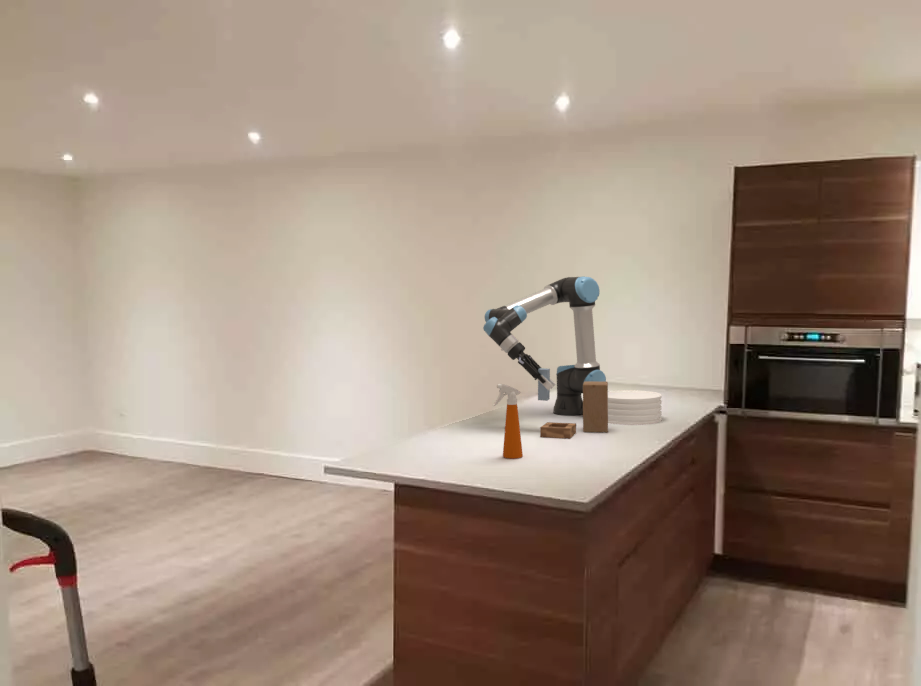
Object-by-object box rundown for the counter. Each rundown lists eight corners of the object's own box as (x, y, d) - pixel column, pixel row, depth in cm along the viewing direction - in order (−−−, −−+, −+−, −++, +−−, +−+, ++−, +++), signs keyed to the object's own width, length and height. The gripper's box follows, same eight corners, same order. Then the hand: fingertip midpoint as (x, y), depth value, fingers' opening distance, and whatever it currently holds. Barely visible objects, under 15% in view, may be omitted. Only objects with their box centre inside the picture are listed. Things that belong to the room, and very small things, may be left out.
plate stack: (674, 421, 330) (674, 396, 329) (620, 427, 320) (620, 400, 319) (637, 412, 356) (637, 388, 355) (586, 417, 346) (586, 392, 345)
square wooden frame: (547, 431, 312) (547, 422, 312) (576, 433, 308) (576, 423, 307) (540, 437, 301) (540, 427, 300) (569, 438, 297) (569, 428, 296)
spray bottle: (490, 456, 267) (488, 383, 266) (517, 453, 271) (516, 381, 269) (498, 460, 261) (496, 385, 259) (526, 457, 265) (525, 383, 263)
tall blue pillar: (540, 398, 316) (540, 368, 315) (549, 399, 315) (549, 368, 314) (537, 400, 312) (538, 369, 311) (547, 400, 311) (547, 369, 310)
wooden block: (607, 432, 307) (607, 384, 306) (583, 432, 309) (582, 384, 308) (608, 428, 317) (607, 381, 316) (584, 427, 319) (583, 381, 318)
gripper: (512, 352, 326) (550, 390, 321) (501, 355, 310) (540, 396, 305) (524, 339, 323) (562, 378, 319) (513, 343, 307) (553, 383, 303)
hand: (552, 387), depth 312 cm, fingers closed on tall blue pillar, 4 cm apart
